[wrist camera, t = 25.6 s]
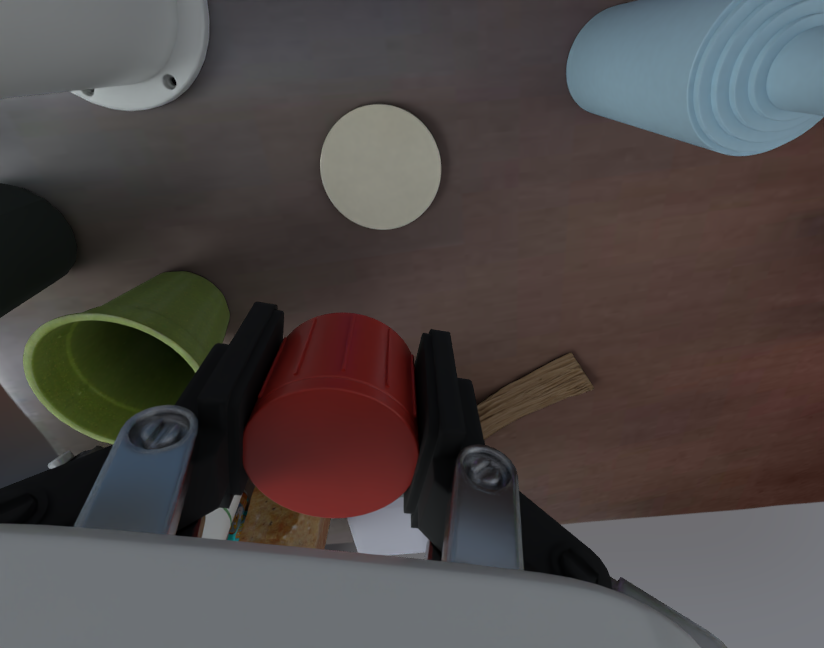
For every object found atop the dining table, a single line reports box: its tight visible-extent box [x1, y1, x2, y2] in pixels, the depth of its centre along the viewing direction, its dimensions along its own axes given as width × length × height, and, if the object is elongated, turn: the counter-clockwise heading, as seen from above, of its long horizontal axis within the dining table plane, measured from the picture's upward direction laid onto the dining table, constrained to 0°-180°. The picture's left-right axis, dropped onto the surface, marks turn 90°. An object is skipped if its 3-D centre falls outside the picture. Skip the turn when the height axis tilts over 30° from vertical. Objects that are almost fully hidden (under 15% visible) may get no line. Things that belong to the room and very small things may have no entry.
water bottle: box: [566, 0, 824, 156], centre depth 21 cm, size 6×6×20 cm
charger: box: [347, 493, 428, 556], centre depth 49 cm, size 5×9×15 cm
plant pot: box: [23, 271, 230, 444], centre depth 34 cm, size 12×12×11 cm
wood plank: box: [477, 352, 594, 440], centre depth 45 cm, size 15×2×5 cm
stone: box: [239, 486, 331, 549], centre depth 43 cm, size 14×9×15 cm, turn 156°
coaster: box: [320, 104, 441, 230], centre depth 33 cm, size 9×9×1 cm
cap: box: [243, 313, 420, 518], centre depth 11 cm, size 4×4×3 cm
